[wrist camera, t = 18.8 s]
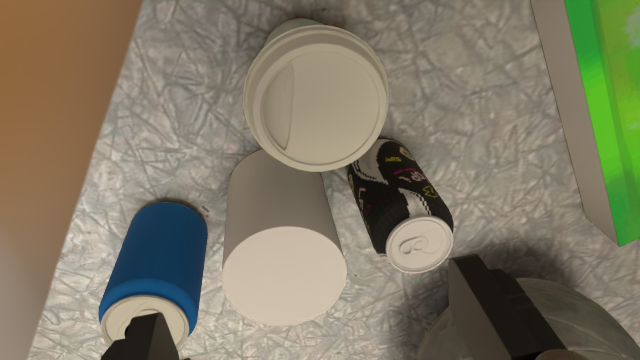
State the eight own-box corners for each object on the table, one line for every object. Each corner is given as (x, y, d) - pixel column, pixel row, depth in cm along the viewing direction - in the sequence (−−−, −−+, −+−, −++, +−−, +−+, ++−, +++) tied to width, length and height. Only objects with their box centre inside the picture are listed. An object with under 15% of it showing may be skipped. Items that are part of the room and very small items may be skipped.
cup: (254, 243, 45) (255, 342, 35) (210, 171, 41) (197, 257, 31) (336, 208, 44) (364, 298, 34) (300, 131, 41) (318, 206, 30)
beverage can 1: (121, 246, 43) (81, 352, 33) (144, 186, 41) (109, 279, 31) (193, 268, 45) (176, 373, 35) (219, 212, 43) (209, 307, 33)
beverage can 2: (340, 144, 42) (371, 221, 31) (406, 128, 42) (460, 200, 31) (351, 201, 44) (383, 290, 34) (413, 186, 44) (465, 270, 34)
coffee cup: (288, -28, 35) (306, -4, 24) (378, 45, 38) (428, 94, 28) (221, 69, 37) (211, 129, 27) (310, 130, 41) (332, 205, 30)
